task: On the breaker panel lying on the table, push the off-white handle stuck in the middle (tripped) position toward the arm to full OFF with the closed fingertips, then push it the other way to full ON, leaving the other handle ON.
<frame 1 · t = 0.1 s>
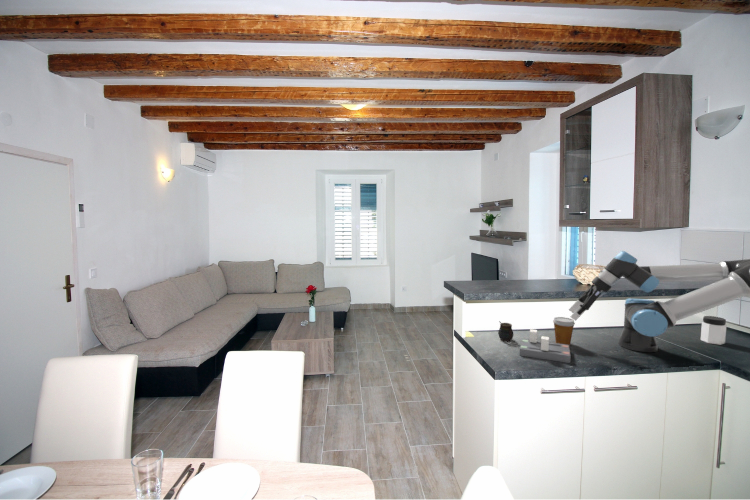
hand: (571, 315, 172), 15 cm above the worktop, tool tilted 35°, fingers open, 13 cm apart
tripped breaker handle: (544, 343, 160), point 6 cm above the worktop, slide at 0.0 cm
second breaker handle: (533, 335, 171), point 6 cm above the worktop, slide at 5.0 cm
disposable coffee cup: (562, 343, 178), on the worktop
jar: (712, 342, 180), on the worktop
mate gourd: (505, 340, 184), on the worktop
breaker panel: (544, 353, 165), on the worktop
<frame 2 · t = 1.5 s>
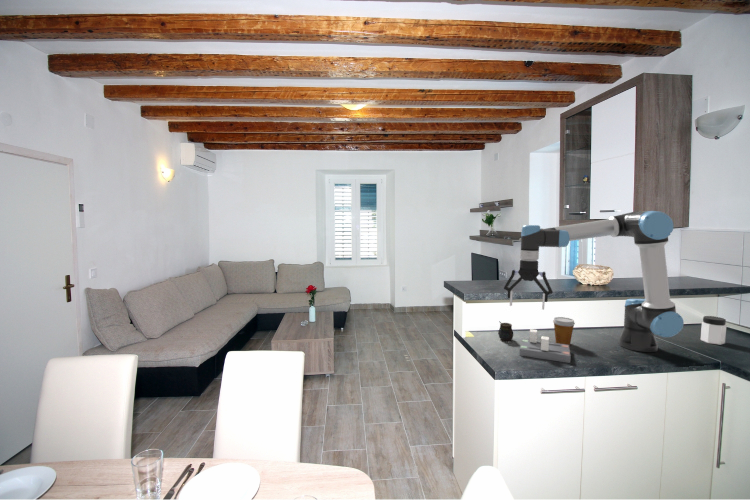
hand: (526, 307, 163), 21 cm above the worktop, tool pointing down, fingers open, 13 cm apart
nothing on the worktop moved.
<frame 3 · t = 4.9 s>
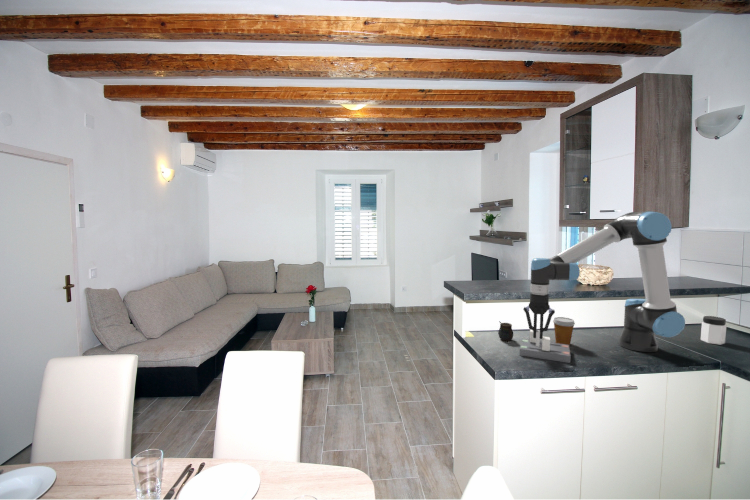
hand: (537, 345, 162), 5 cm above the worktop, tool pointing down, fingers closed
tripped breaker handle: (546, 343, 160), point 6 cm above the worktop, slide at -0.5 cm, touching gripper
everything else where it was.
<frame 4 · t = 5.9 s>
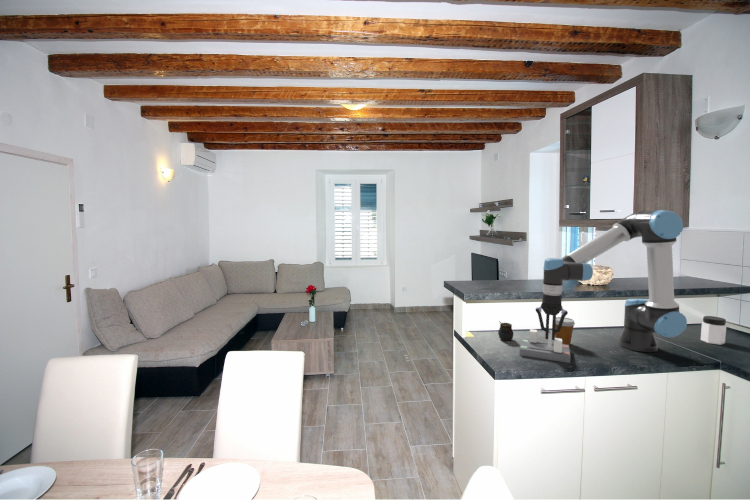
hand: (549, 346, 160), 5 cm above the worktop, tool pointing down, fingers closed
tripped breaker handle: (558, 345, 158), point 6 cm above the worktop, slide at -5.2 cm, touching gripper
everything else where it was.
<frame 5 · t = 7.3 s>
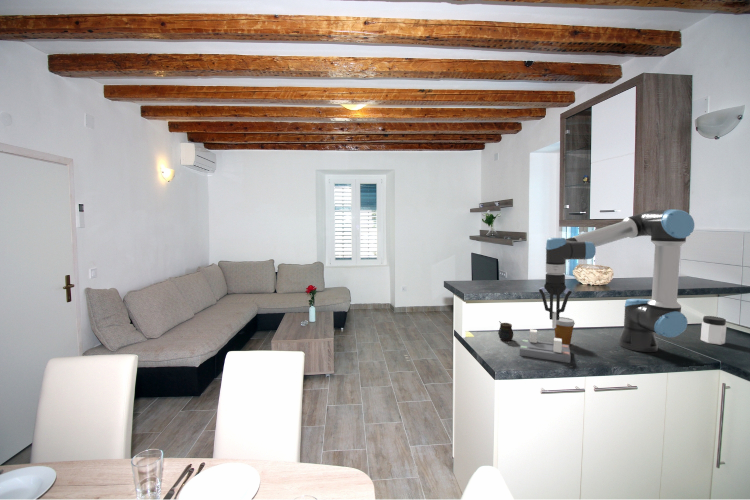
hand: (554, 326, 159), 14 cm above the worktop, tool pointing down, fingers closed
tripped breaker handle: (557, 345, 158), point 6 cm above the worktop, slide at -5.1 cm
everything else where it was.
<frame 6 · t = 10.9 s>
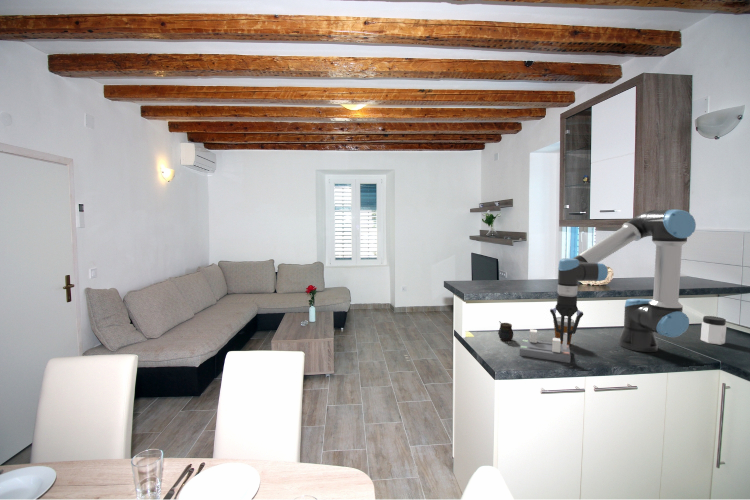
hand: (564, 348, 157), 5 cm above the worktop, tool pointing down, fingers closed
tripped breaker handle: (556, 345, 159), point 6 cm above the worktop, slide at -4.5 cm, touching gripper
everything else where it was.
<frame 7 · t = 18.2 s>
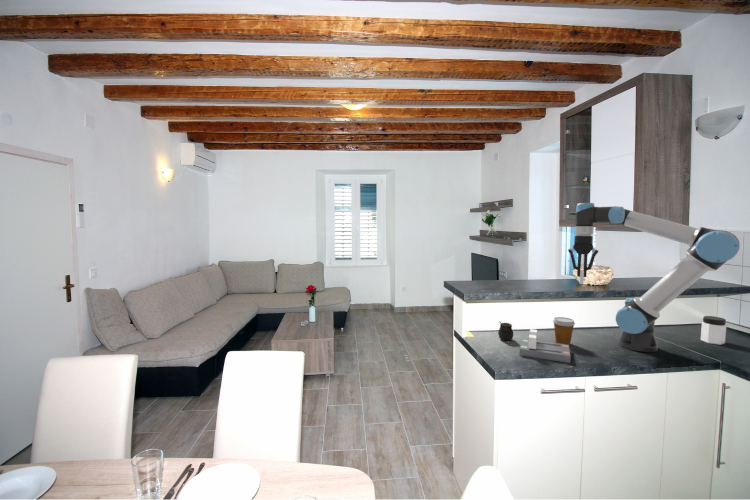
hand: (581, 283, 177), 29 cm above the worktop, tool pointing down, fingers closed
tripped breaker handle: (532, 341, 163), point 6 cm above the worktop, slide at 5.1 cm
everything else where it was.
at the end: tripped breaker handle slide at 5.1 cm; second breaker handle slide at 5.0 cm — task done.
